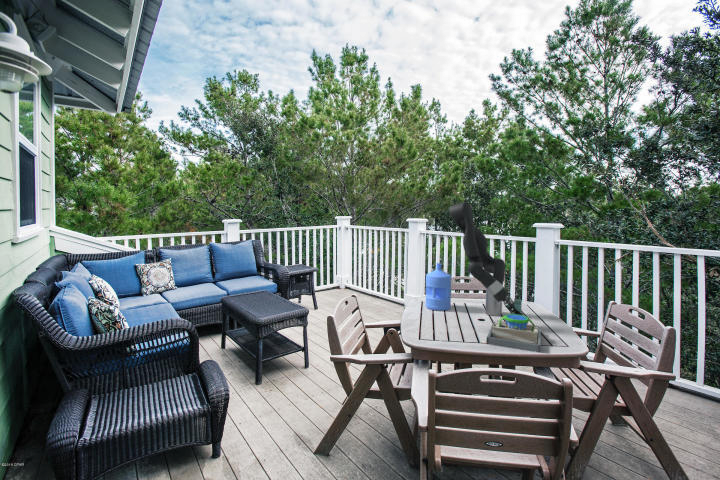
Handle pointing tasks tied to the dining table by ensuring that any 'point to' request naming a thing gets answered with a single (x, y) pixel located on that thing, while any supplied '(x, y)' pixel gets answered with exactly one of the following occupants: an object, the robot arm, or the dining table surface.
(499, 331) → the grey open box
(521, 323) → the snack cup
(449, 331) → the dining table surface
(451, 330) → the dining table surface
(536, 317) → the dining table surface
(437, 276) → the water jug
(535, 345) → the rectangular frame
